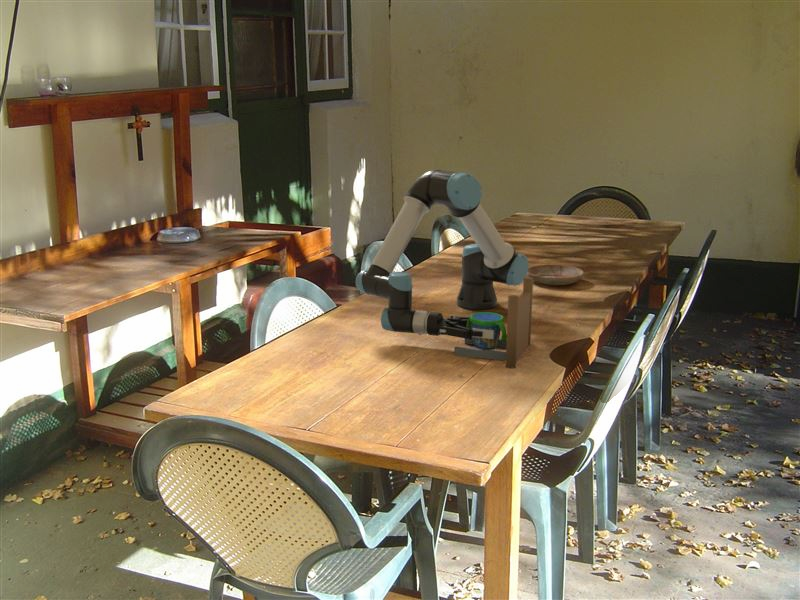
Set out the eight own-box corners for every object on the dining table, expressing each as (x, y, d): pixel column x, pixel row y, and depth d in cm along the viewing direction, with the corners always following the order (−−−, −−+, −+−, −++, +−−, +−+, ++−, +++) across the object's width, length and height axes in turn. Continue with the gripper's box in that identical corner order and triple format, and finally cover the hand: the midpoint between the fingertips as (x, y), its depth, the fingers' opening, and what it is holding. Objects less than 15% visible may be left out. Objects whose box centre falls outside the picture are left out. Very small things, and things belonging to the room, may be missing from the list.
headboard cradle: (470, 336, 311) (471, 272, 305) (531, 342, 305) (533, 277, 299) (448, 361, 286) (450, 292, 280) (514, 368, 280) (517, 298, 274)
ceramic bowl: (515, 278, 391) (515, 267, 390) (563, 273, 400) (563, 262, 399) (544, 291, 370) (545, 279, 369) (594, 286, 379) (595, 274, 378)
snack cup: (514, 350, 292) (516, 319, 290) (489, 356, 286) (490, 324, 284) (482, 338, 305) (483, 308, 302) (457, 343, 299) (458, 313, 296)
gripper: (438, 325, 311) (504, 331, 304) (418, 344, 291) (488, 351, 284) (438, 303, 309) (504, 309, 302) (418, 321, 289) (489, 328, 282)
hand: (497, 329), depth 293 cm, fingers closed on snack cup, 10 cm apart
